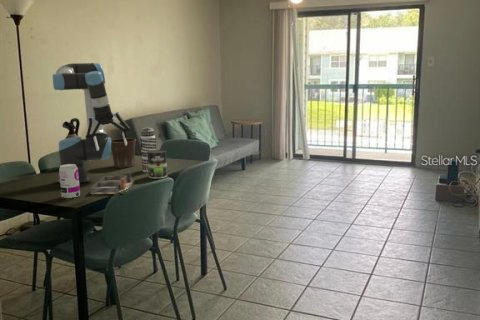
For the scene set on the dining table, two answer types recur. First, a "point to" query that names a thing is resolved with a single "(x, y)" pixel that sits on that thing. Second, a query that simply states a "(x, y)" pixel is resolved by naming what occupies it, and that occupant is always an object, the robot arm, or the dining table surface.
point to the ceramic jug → (72, 128)
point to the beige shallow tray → (112, 184)
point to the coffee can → (157, 164)
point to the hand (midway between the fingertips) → (112, 147)
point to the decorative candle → (147, 145)
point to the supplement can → (69, 181)
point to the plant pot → (123, 152)
